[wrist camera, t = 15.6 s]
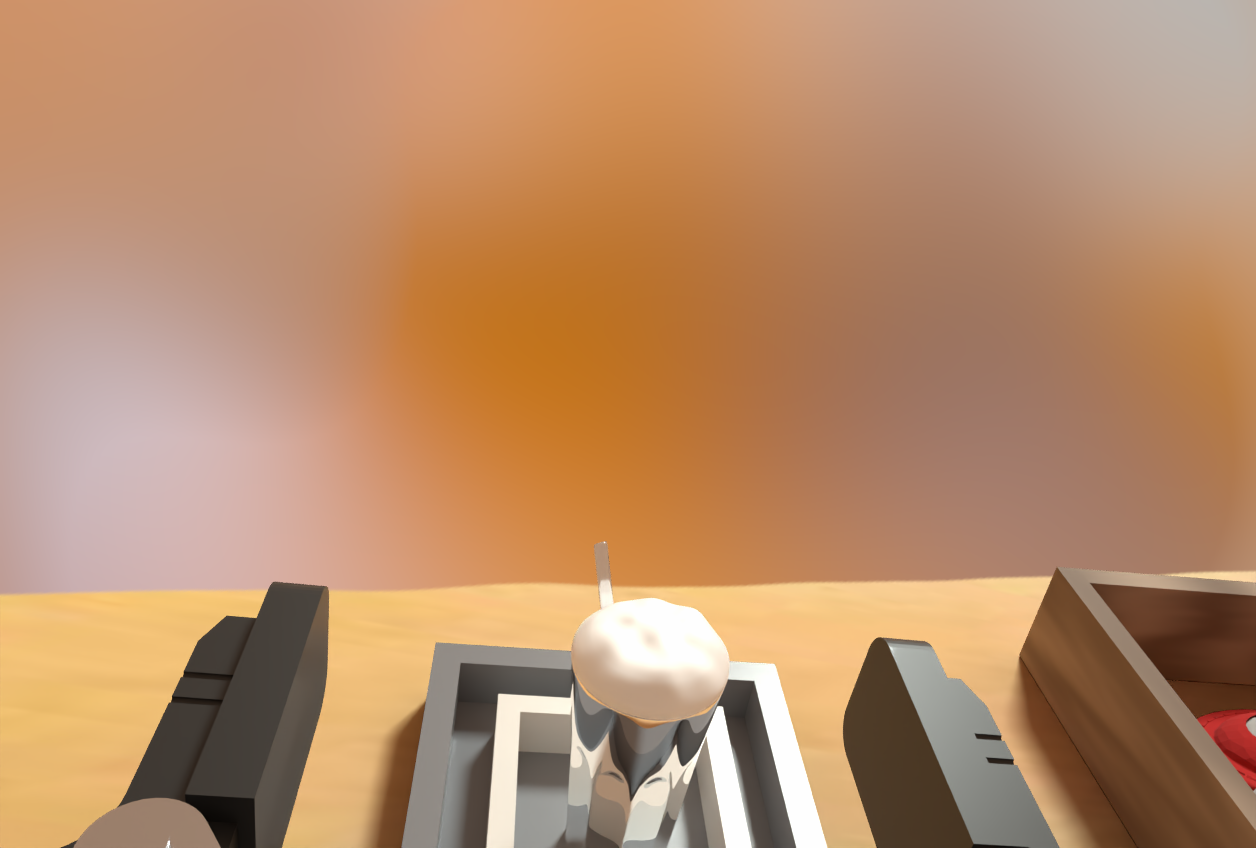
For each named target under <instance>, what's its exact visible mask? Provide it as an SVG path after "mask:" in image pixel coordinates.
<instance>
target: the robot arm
mask: <svg viewBox="0 0 1256 848" xmlns="http://www.w3.org/2000/svg"><path fill="white" fill-rule="evenodd" d="M328 618H329V591H328V587H327V586H315V585H304V584H294V583H283V582H273V583H272V584H271V585H270V587H269V589H268V592H267V594H266V597H265V599H264V601H263V604H262V606H261V609H260V611H259V614H258V616H257V618H247V617H235V616H226V617H225V618H224V619H222V620H221V621H220V622H219V623H218V624H217V625H216V626H215V627H213V628H212V629H211V630H210V631H209V632H208V633H207V634H205V635H204V636H203V637H202V638H201V639H200V640H199V641H198V642H197V645H196V647H195V649H194V651H193V653H192V655H191V657H190V659H189V661H188V664H187V666H186V668H185V670H184V675H183V677H181V678H180V681H179V683H178V685H177V687H176V689H175V691H174V693H173V695H172V701H171V703H169V704H168V706H167V708H166V710H165V712H164V714H163V717H162V719H161V721H160V723H159V725H158V727H157V729H156V731H155V733H154V736H153V738H152V740H151V742H150V744H149V746H148V748H147V750H146V752H145V755H144V757H143V759H142V761H141V763H140V765H139V767H138V769H137V772H136V774H135V776H134V778H133V780H132V782H131V784H130V786H129V788H128V791H127V793H126V795H125V796H124V798H123V800H122V802H121V803H120V805H119V806H118V807H117V808H115V809H113V810H111V811H109V812H108V813H106V814H105V815H103V816H102V817H100V818H99V819H97V820H96V821H95V822H94V823H93V824H92V825H90V826H89V827H88V828H87V829H86V831H85V832H84V833H83V834H82V835H81V836H80V838H79V839H78V840H77V841H75V842H73V843H71V844H69V845H66V846H64V847H61V848H282V845H283V841H284V838H285V834H286V831H287V827H288V824H289V820H290V817H291V813H292V810H293V806H294V803H295V799H296V796H297V792H298V789H299V785H300V782H301V778H302V775H303V771H304V768H305V764H306V761H307V757H308V754H309V750H310V747H311V743H312V740H313V736H314V733H315V729H316V726H317V722H318V719H319V715H320V712H321V707H322V703H323V698H324V692H325V686H326V677H327V662H328ZM1001 736H1002V735H1001V733H1000V731H999V729H998V727H997V726H996V724H995V722H994V720H993V718H992V716H991V714H990V712H989V710H988V708H987V706H986V705H985V704H984V703H983V702H982V701H981V700H980V699H979V698H978V697H977V696H976V695H975V694H974V693H973V692H972V691H971V690H970V689H969V688H968V687H967V686H966V685H965V684H964V683H963V681H962V680H961V679H953V678H947V676H946V674H945V672H944V670H943V668H942V666H941V664H940V662H939V660H938V658H937V655H936V653H935V651H934V650H933V648H932V646H931V645H930V644H929V643H927V642H925V641H914V640H903V639H892V638H881V637H880V638H876V639H875V640H874V641H873V642H872V644H871V646H870V648H869V650H868V653H867V656H866V658H865V661H864V663H863V666H862V669H861V671H860V674H859V676H858V679H857V682H856V684H855V687H854V689H853V692H852V695H851V697H850V700H849V702H848V705H847V708H846V711H845V715H844V723H843V740H844V747H845V752H846V755H847V758H848V761H849V764H850V767H851V770H852V773H853V776H854V779H855V783H856V786H857V789H858V792H859V795H860V798H861V801H862V804H863V807H864V810H865V813H866V816H867V819H868V822H869V825H870V828H871V831H872V834H873V837H874V840H875V844H876V847H877V848H1059V846H1058V844H1057V842H1056V840H1055V838H1054V836H1053V834H1052V832H1051V830H1050V828H1049V826H1048V824H1047V822H1046V820H1045V819H1044V817H1043V815H1042V813H1041V811H1040V809H1039V807H1038V805H1037V803H1036V801H1035V799H1034V797H1033V795H1032V793H1031V791H1030V789H1029V788H1028V786H1027V784H1026V782H1025V780H1024V778H1023V776H1022V774H1021V772H1020V770H1019V768H1018V766H1017V765H1014V763H1013V761H1014V758H1013V757H1012V755H1011V753H1010V751H1009V749H1008V747H1007V745H1006V743H1005V741H1002V740H1001Z"/></svg>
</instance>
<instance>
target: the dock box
mask: <svg viewBox="0 0 1256 848" xmlns="http://www.w3.org/2000/svg"><path fill="white" fill-rule="evenodd" d="M570 700H571V651H561V650H545V649H530V648H514V647H498V646H483V645H467V644H451V643H436V645H435V651H434V657H433V663H432V669H431V675H430V681H429V686H428V692H427V698H426V704H425V710H424V716H423V722H422V728H421V734H420V740H419V746H418V752H417V758H416V764H415V770H414V776H413V782H412V788H411V794H410V800H409V805H408V811H407V817H406V823H405V829H404V835H403V841H402V847H401V848H565V837H566V820H567V803H568V786H569V768H570V746H571V724H570ZM667 848H827V846H826V842H825V839H824V835H823V832H822V828H821V825H820V821H819V818H818V814H817V811H816V807H815V804H814V800H813V797H812V793H811V790H810V786H809V782H808V779H807V775H806V772H805V768H804V765H803V761H802V758H801V754H800V751H799V747H798V744H797V740H796V737H795V733H794V730H793V726H792V723H791V719H790V716H789V712H788V709H787V705H786V702H785V698H784V695H783V691H782V688H781V684H780V681H779V677H778V674H777V670H776V667H775V664H765V663H749V662H733V661H730V669H729V676H728V680H727V683H726V686H725V688H724V691H723V693H722V696H721V699H720V701H719V704H718V706H717V709H716V711H715V714H714V717H713V719H712V722H711V724H710V727H709V729H708V732H707V735H706V737H705V740H704V742H703V745H702V748H701V750H700V753H699V756H698V759H697V762H696V765H695V768H694V771H693V774H692V777H691V780H690V783H689V786H688V788H687V791H686V794H685V797H684V800H683V803H682V806H681V809H680V812H679V815H678V817H677V820H676V823H675V826H674V829H673V832H672V835H671V838H670V841H669V843H668V846H667Z"/></svg>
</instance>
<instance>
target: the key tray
mask: <svg viewBox="0 0 1256 848" xmlns="http://www.w3.org/2000/svg"><path fill="white" fill-rule="evenodd" d="M1020 657H1021V659H1022V660H1023V662H1024V663H1025V665H1026V667H1027V668H1028V670H1029V672H1030V673H1031V675H1032V676H1033V678H1034V680H1035V681H1036V683H1037V685H1038V686H1039V688H1040V689H1041V691H1042V693H1043V694H1044V696H1045V698H1046V699H1047V701H1048V702H1049V704H1050V706H1051V707H1052V709H1053V711H1054V712H1055V714H1056V715H1057V717H1058V719H1059V720H1060V722H1061V724H1062V725H1063V727H1064V728H1065V730H1066V732H1067V733H1068V735H1069V737H1070V738H1071V740H1072V741H1073V743H1074V745H1075V746H1076V748H1077V750H1078V751H1079V753H1080V754H1081V756H1082V758H1083V759H1084V761H1085V763H1086V764H1087V766H1088V767H1089V769H1090V771H1091V772H1092V774H1093V776H1094V777H1095V779H1096V780H1097V782H1098V784H1099V785H1100V787H1101V789H1102V790H1103V792H1104V793H1105V795H1106V797H1107V798H1108V800H1109V802H1110V803H1111V805H1112V806H1113V808H1114V810H1115V811H1116V813H1117V815H1118V816H1119V818H1120V819H1121V821H1122V823H1123V824H1124V826H1125V828H1126V829H1127V831H1128V832H1129V834H1130V836H1131V837H1132V839H1133V841H1134V842H1135V844H1136V845H1137V847H1138V848H1256V794H1255V793H1254V792H1253V790H1252V789H1251V788H1250V787H1249V785H1248V784H1247V783H1246V781H1245V780H1244V779H1243V778H1242V776H1241V775H1240V774H1239V773H1238V771H1237V770H1236V769H1235V767H1234V766H1233V765H1232V764H1231V762H1230V761H1229V760H1228V758H1227V757H1226V756H1225V755H1224V753H1223V752H1222V751H1221V750H1220V748H1219V747H1218V746H1217V744H1216V743H1215V742H1214V741H1213V739H1212V738H1211V737H1210V736H1209V734H1208V733H1207V732H1206V730H1205V729H1204V728H1203V727H1202V725H1201V724H1200V723H1199V722H1198V720H1197V719H1196V718H1195V716H1194V715H1193V714H1192V713H1191V711H1190V710H1189V709H1188V708H1187V706H1186V705H1185V704H1184V702H1183V701H1182V700H1181V699H1180V697H1179V696H1178V695H1177V694H1176V692H1175V691H1174V690H1173V688H1172V687H1171V686H1170V685H1169V683H1168V682H1167V681H1166V680H1165V679H1169V680H1184V681H1199V682H1215V683H1230V684H1245V685H1256V583H1253V582H1240V581H1227V580H1215V579H1202V578H1190V577H1177V576H1164V575H1152V574H1138V573H1127V572H1114V571H1101V570H1087V569H1076V568H1062V567H1057V568H1056V570H1055V573H1054V575H1053V577H1052V580H1051V582H1050V584H1049V587H1048V589H1047V592H1046V594H1045V596H1044V599H1043V601H1042V603H1041V606H1040V608H1039V610H1038V613H1037V615H1036V617H1035V620H1034V622H1033V624H1032V627H1031V629H1030V631H1029V634H1028V636H1027V638H1026V641H1025V643H1024V645H1023V648H1022V650H1021V652H1020Z"/></svg>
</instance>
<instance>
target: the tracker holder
mask: <svg viewBox="0 0 1256 848" xmlns="http://www.w3.org/2000/svg"><path fill="white" fill-rule="evenodd" d="M1197 720H1198V722H1199V723H1200V724H1201V725H1202V727H1203V728H1204V729H1205V730H1206V732H1207V733H1208V734H1209V736H1210V737H1211V738H1212V739H1213V741H1214V742H1215V743H1216V744H1217V746H1218V747H1219V748H1220V750H1221V751H1222V752H1223V753H1224V755H1225V756H1226V757H1227V758H1228V760H1229V761H1230V762H1231V764H1232V765H1233V766H1234V767H1235V769H1236V770H1237V771H1238V773H1239V774H1240V775H1241V776H1242V778H1243V779H1244V780H1245V781H1246V783H1247V784H1248V785H1249V787H1250V788H1251V789H1252V790H1253V792H1254V793H1255V794H1256V710H1250V709H1239V710H1225V711H1219V712H1213V713H1210V714H1207V715H1204V716H1201V717H1199V718H1198V719H1197Z"/></svg>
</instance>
